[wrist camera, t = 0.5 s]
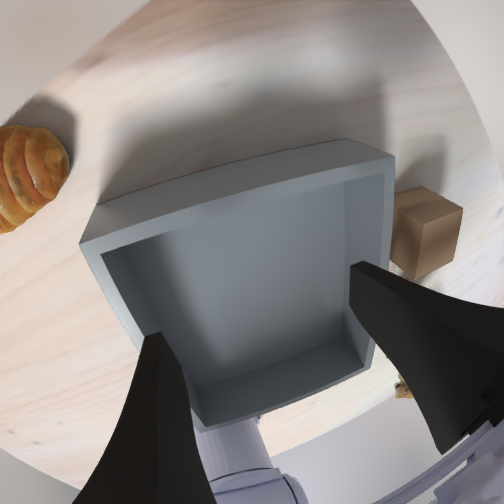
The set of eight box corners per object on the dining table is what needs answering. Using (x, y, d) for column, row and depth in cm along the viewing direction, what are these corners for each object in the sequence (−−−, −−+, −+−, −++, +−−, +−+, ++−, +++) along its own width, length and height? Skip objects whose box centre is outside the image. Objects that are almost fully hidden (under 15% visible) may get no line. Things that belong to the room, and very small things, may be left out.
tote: (345, 334, 29) (370, 368, 25) (189, 390, 27) (199, 433, 23) (346, 138, 19) (395, 156, 15) (95, 205, 16) (78, 244, 12)
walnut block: (416, 234, 26) (452, 260, 22) (378, 249, 25) (414, 280, 21) (421, 186, 23) (463, 208, 19) (380, 197, 22) (423, 224, 18)
